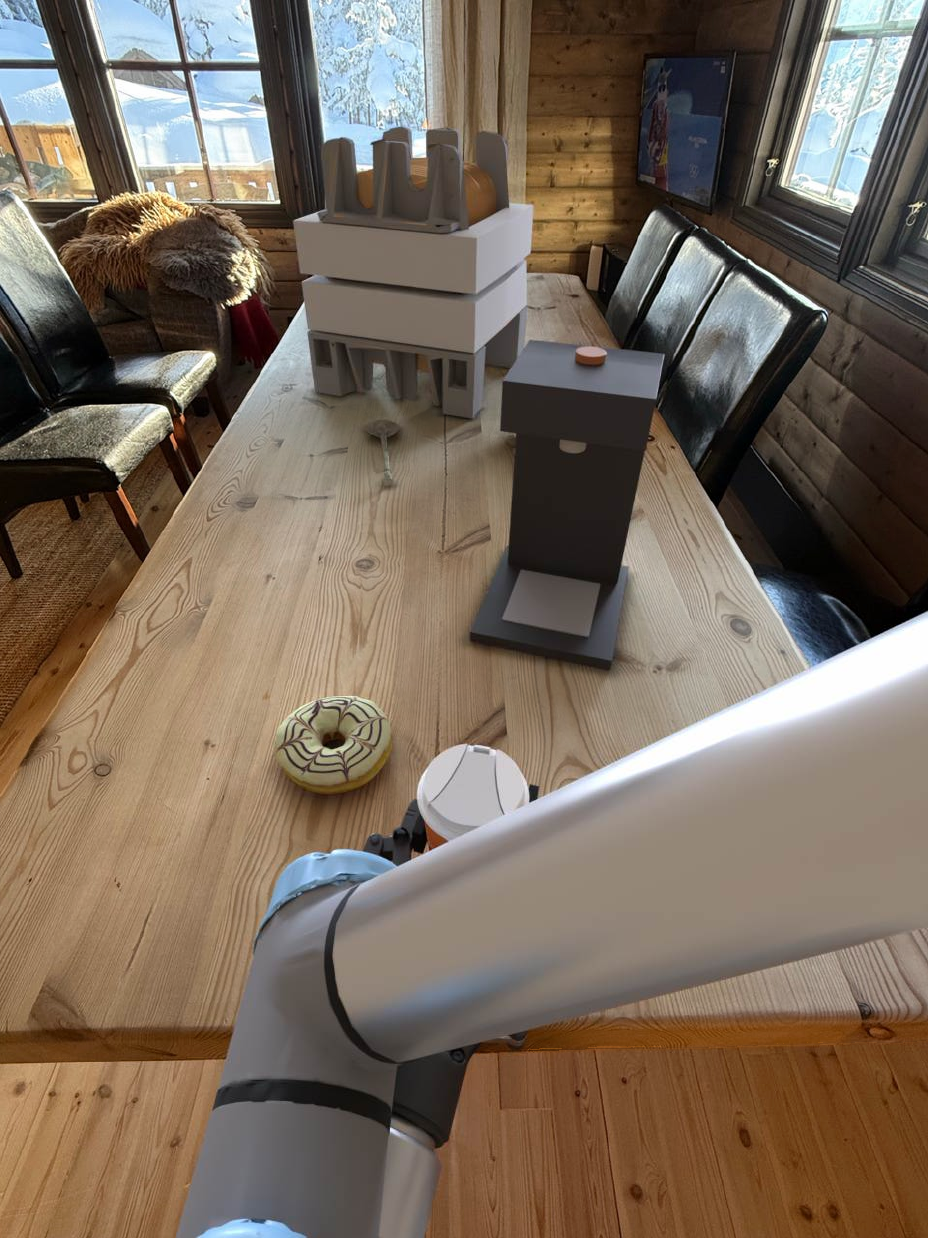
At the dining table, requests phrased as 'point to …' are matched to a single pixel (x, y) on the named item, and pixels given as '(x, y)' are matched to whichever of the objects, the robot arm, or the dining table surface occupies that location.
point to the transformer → (415, 268)
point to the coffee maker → (569, 499)
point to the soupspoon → (383, 441)
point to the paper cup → (468, 791)
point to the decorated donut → (329, 721)
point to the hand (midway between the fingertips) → (487, 784)
